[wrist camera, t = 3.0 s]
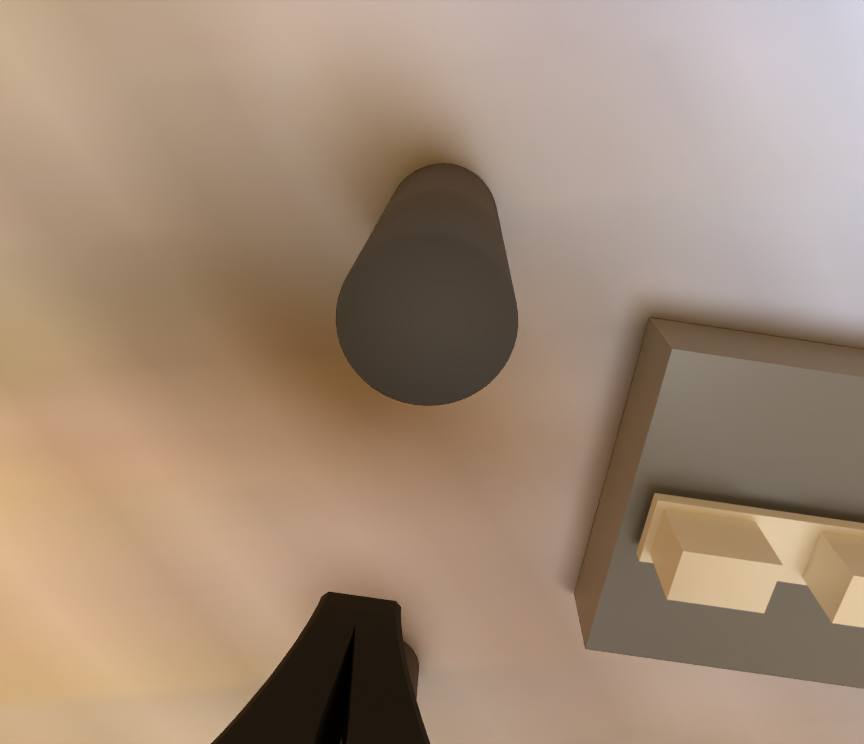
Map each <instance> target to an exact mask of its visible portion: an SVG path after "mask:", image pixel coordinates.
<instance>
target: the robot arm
mask: <svg viewBox="0 0 864 744" xmlns="http://www.w3.org/2000/svg"><path fill="white" fill-rule="evenodd" d="M341 739H342V741H341ZM340 743H341V744H430V742H429V739H428V736H427V733H426V730H425V727H424V724H423V721H422V718H421V714H420V711H419V708H418V704H417V701H416V697H415V693H414V689H413V685H412V682H411V678H410V674H409V669H408V665H407V660H406V655H405V649H404V644H403V636H402V628H401V607H400V605H399V604H398V603H397V602H396V601H391V600H384V599H377V598H370V597H363V596H356V595H349V594H342V593H334V592H328V593H326V594H324V595H323V596H322V597H321V599H320V601H319V604H318V606H317V608H316V609H315V611H314V613H313V615H312V616H311V618H310V620H309V621H308V623H307V625H306V626H305V628H304V629H303V631H302V633H301V634H300V636H299V637H298V639H297V640H296V642H295V643H294V645H293V646H292V647H291V649H290V650H289V651H288V653H287V654H286V656H285V657H284V658H283V660H282V661H281V662H280V664H279V665H278V666H277V668H276V669H275V671H274V672H273V673H272V675H271V676H270V677H269V678H268V680H267V681H266V682H265V683H264V685H263V686H262V687H261V688H260V689H259V690H258V692H257V693H256V694H255V695H254V696H253V698H252V699H251V700H250V701H249V702H248V704H247V705H246V706H245V707H244V708H243V710H242V711H241V712H240V713H239V714H238V715H237V716H236V718H235V719H234V720H233V721H232V722H231V723H230V724H229V725H228V726H227V727H226V728H225V730H224V731H223V732H222V733H221V734H220V735H219V736H218V737H217V738H216V739H215V740H214V741H213V742H212V743H211V744H340Z"/></svg>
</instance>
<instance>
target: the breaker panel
mask: <svg viewBox="0 0 864 744" xmlns="http://www.w3.org/2000/svg"><path fill="white" fill-rule="evenodd" d="M654 493H659V494H666V495H673V496H680V497H687V498H694V499H701V500H707V501H714V502H721V503H728V504H735V505H742V506H749V507H756V508H763V509H769V510H776V511H783V512H790V513H797V514H804V515H811V516H818V517H824V518H831V519H838V520H845V521H852V522H859V523H864V349H857V348H851V347H844V346H837V345H830V344H824V343H817V342H810V341H803V340H797V339H790V338H783V337H777V336H770V335H763V334H756V333H750V332H743V331H736V330H729V329H723V328H716V327H709V326H703V325H696V324H689V323H682V322H676V321H669V320H662V319H655V318H649V321H648V325H647V329H646V333H645V336H644V340H643V344H642V347H641V351H640V355H639V358H638V362H637V366H636V369H635V373H634V377H633V380H632V384H631V388H630V391H629V395H628V399H627V402H626V406H625V410H624V413H623V417H622V421H621V425H620V428H619V432H618V436H617V439H616V443H615V447H614V450H613V454H612V458H611V461H610V465H609V469H608V472H607V476H606V480H605V483H604V487H603V491H602V494H601V498H600V502H599V506H598V509H597V513H596V517H595V520H594V524H593V528H592V531H591V535H590V539H589V542H588V546H587V550H586V553H585V557H584V561H583V564H582V568H581V572H580V575H579V579H578V583H577V587H576V590H575V594H574V596H575V601H576V606H577V611H578V616H579V621H580V625H581V630H582V635H583V640H584V645H585V649H589V650H596V651H603V652H610V653H617V654H624V655H631V656H638V657H645V658H652V659H659V660H666V661H673V662H680V663H687V664H694V665H701V666H708V667H715V668H722V669H729V670H736V671H744V672H751V673H758V674H765V675H772V676H779V677H786V678H793V679H800V680H807V681H814V682H821V683H828V684H835V685H842V686H849V687H856V688H863V689H864V628H862V627H855V626H848V625H841V624H834V623H832V622H831V621H830V619H829V618H828V616H827V615H826V613H825V612H824V610H823V609H822V607H821V606H820V604H819V603H818V601H817V600H816V598H815V596H814V595H813V593H812V592H811V590H810V589H809V587H808V586H807V585H801V584H794V583H787V582H780V581H777V583H776V585H775V588H774V590H773V593H772V595H771V598H770V600H769V603H768V605H767V608H766V610H765V612H764V613H758V612H751V611H744V610H737V609H730V608H723V607H716V606H709V605H702V604H695V603H688V602H681V601H674V600H667V598H666V596H665V593H664V590H663V588H662V585H661V582H660V580H659V577H658V574H657V572H656V569H655V566H654V564H653V563H648V562H641V561H639V560H638V557H637V554H636V552H637V549H638V545H639V542H640V539H641V536H642V532H643V529H644V526H645V522H646V519H647V516H648V513H649V509H650V506H651V503H652V499H653V496H654Z"/></svg>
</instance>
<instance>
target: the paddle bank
mask: <svg viewBox="0 0 864 744" xmlns="http://www.w3.org/2000/svg"><path fill="white" fill-rule="evenodd" d="M636 554H637V557H638V560H639V561H641V562H648V563H653V564H654V566H655V569H656V572H657V574H658V577H659V580H660V582H661V585H662V588H663V590H664V593H665V596H666V598H667V600H674V601H681V602H688V603H695V604H702V605H709V606H716V607H723V608H730V609H737V610H744V611H751V612H758V613H764V612H765V610H766V608H767V605H768V603H769V600H770V598H771V595H772V593H773V590H774V588H775V585H776V583H777V581H780V582H787V583H794V584H801V585H807V586H808V587H809V589H810V590H811V592H812V593H813V595H814V596H815V598H816V600H817V601H818V603H819V604H820V606H821V607H822V609H823V610H824V612H825V613H826V615H827V616H828V618H829V619H830V621H831V622H832V623H834V624H841V625H848V626H855V627H862V628H864V523H859V522H852V521H845V520H838V519H831V518H824V517H818V516H811V515H804V514H797V513H790V512H783V511H776V510H769V509H763V508H756V507H749V506H742V505H735V504H728V503H721V502H714V501H707V500H701V499H694V498H687V497H680V496H673V495H666V494H659V493H654V496H653V499H652V503H651V506H650V509H649V513H648V516H647V519H646V522H645V526H644V529H643V532H642V536H641V539H640V542H639V545H638V549H637V552H636Z"/></svg>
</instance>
